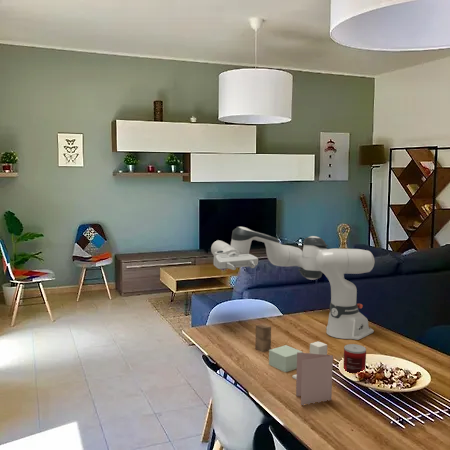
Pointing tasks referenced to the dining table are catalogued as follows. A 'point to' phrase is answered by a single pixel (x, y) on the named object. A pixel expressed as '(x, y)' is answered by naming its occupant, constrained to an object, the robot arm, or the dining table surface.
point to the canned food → (354, 358)
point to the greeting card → (314, 377)
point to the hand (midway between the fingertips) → (244, 267)
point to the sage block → (283, 358)
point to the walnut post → (263, 337)
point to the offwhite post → (318, 348)
